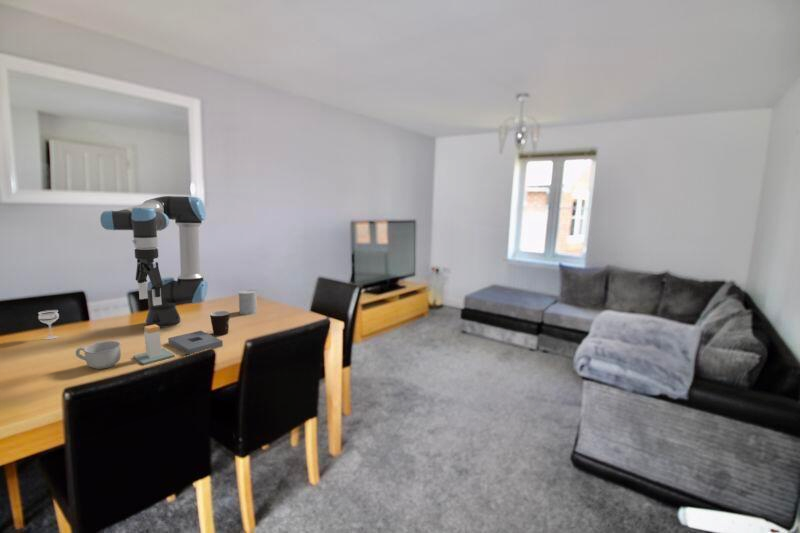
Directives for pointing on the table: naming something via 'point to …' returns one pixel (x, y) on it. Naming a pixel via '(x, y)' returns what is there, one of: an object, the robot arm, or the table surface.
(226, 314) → the coffee mug
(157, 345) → the white tall block
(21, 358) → the table surface
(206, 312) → the table surface
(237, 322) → the table surface
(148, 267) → the robot arm
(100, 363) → the teacup
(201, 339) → the grey flat block
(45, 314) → the wineglass
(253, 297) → the grey canister
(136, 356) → the pad
